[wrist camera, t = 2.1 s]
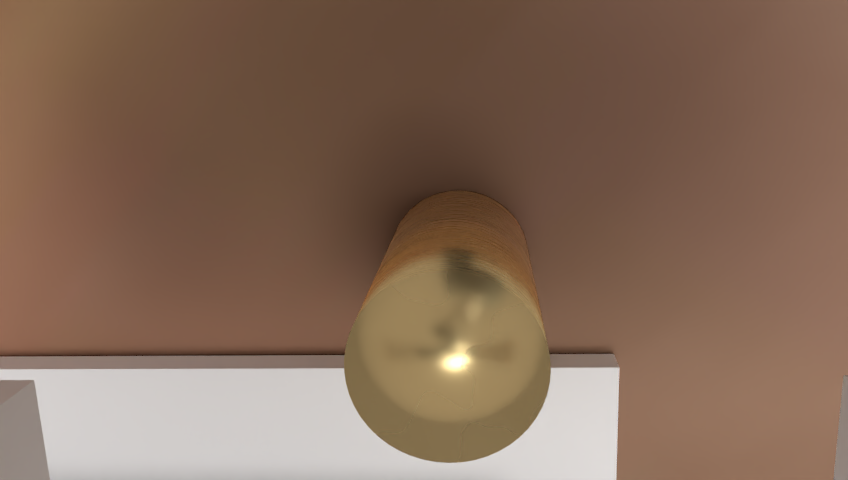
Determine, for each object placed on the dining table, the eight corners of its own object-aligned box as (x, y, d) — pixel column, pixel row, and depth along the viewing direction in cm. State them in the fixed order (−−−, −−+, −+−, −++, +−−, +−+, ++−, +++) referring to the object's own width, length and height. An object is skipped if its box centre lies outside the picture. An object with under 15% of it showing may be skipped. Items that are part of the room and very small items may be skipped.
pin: (387, 191, 23) (337, 272, 15) (527, 189, 22) (551, 269, 15) (393, 323, 24) (350, 462, 16) (528, 322, 23) (550, 463, 16)
